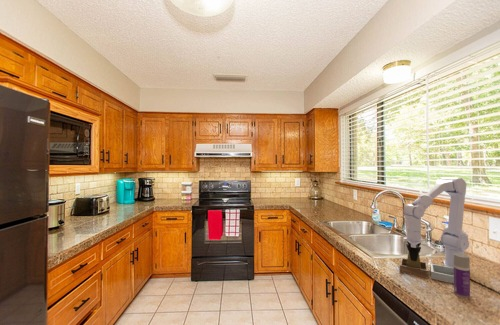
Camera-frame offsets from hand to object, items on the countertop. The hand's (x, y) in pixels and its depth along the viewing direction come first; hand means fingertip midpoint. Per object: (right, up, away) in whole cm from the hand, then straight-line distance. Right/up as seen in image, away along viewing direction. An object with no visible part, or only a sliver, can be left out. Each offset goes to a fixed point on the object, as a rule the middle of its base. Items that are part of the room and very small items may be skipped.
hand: (413, 258), depth 114 cm
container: (+4, -6, -21) cm, 22 cm away
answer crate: (+10, -6, -7) cm, 13 cm away
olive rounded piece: (0, -5, 0) cm, 5 cm away
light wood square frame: (0, -6, 0) cm, 6 cm away
